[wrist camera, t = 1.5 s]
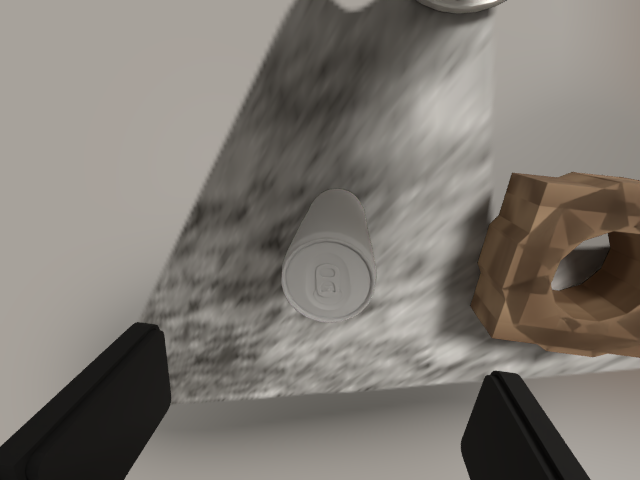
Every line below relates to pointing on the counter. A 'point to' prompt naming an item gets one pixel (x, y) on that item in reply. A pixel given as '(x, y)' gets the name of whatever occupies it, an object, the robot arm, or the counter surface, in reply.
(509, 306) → the socket block
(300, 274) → the beverage can
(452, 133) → the counter surface
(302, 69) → the counter surface
